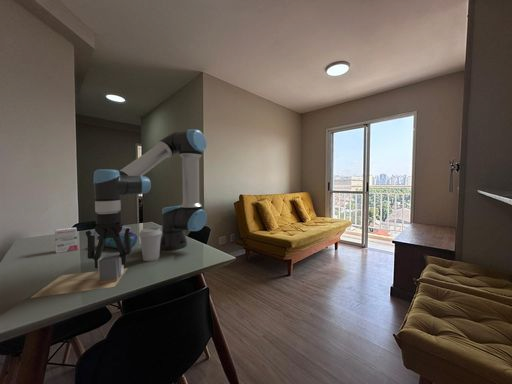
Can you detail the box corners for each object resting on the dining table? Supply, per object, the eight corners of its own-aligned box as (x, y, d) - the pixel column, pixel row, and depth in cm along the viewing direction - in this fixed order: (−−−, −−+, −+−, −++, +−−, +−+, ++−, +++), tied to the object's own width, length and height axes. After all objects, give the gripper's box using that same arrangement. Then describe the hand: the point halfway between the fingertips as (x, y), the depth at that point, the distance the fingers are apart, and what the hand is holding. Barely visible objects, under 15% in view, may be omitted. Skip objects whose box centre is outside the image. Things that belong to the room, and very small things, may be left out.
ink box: (77, 247, 114) (76, 226, 114) (77, 249, 111) (76, 228, 110) (56, 251, 109) (55, 229, 108) (55, 253, 105) (54, 230, 104)
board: (128, 271, 84) (128, 267, 84) (114, 291, 68) (114, 286, 68) (61, 279, 77) (61, 275, 77) (30, 302, 62) (30, 297, 62)
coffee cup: (163, 263, 93) (163, 230, 92) (139, 267, 88) (138, 232, 87) (161, 256, 101) (161, 226, 100) (139, 259, 96) (138, 228, 95)
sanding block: (108, 273, 78) (107, 253, 78) (123, 271, 80) (122, 251, 79) (100, 283, 70) (98, 260, 70) (116, 281, 72) (115, 259, 72)
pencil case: (96, 247, 114) (96, 230, 114) (112, 243, 123) (111, 227, 123) (125, 251, 108) (124, 233, 108) (139, 246, 117) (138, 230, 116)
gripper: (139, 209, 80) (142, 267, 81) (82, 212, 74) (85, 274, 76) (135, 212, 73) (137, 275, 74) (71, 215, 67) (75, 283, 68)
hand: (111, 274), depth 75 cm, fingers open, 6 cm apart
